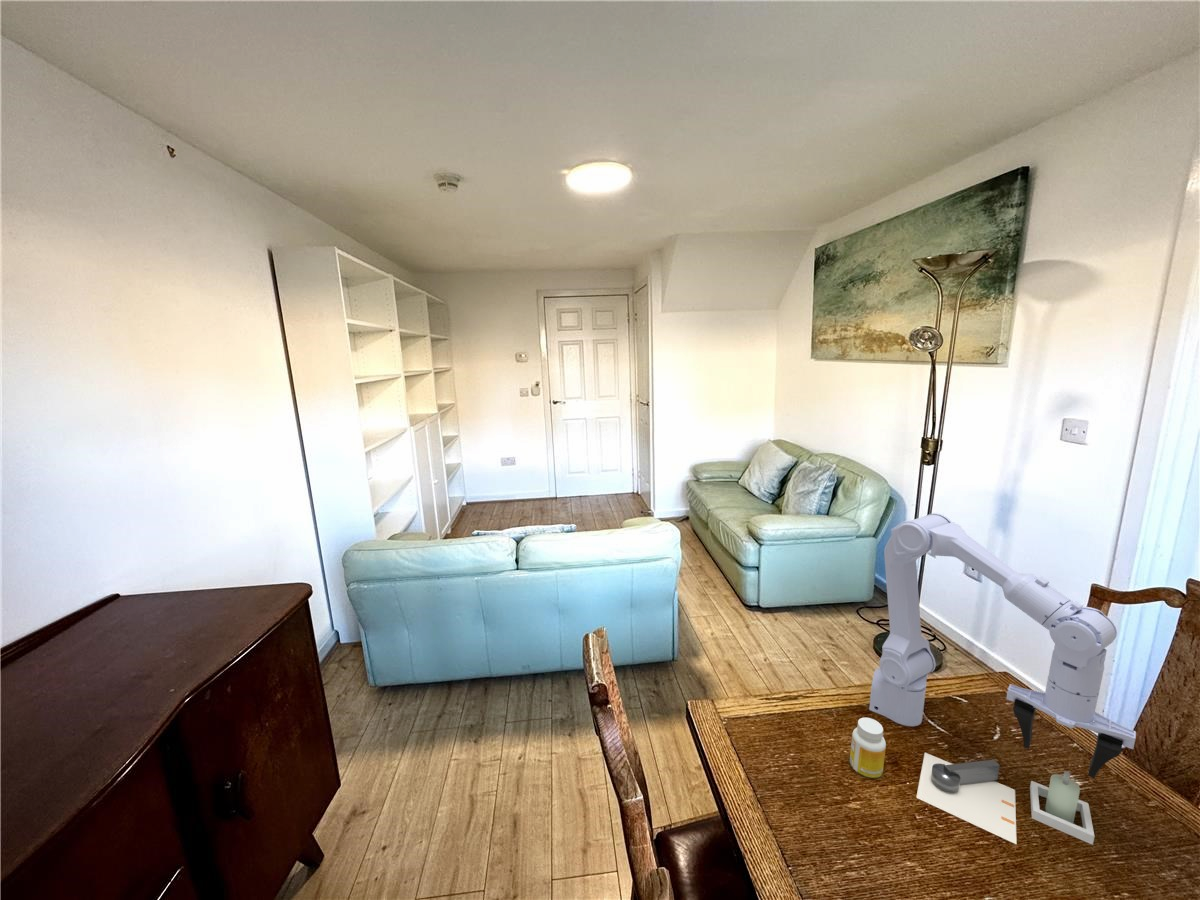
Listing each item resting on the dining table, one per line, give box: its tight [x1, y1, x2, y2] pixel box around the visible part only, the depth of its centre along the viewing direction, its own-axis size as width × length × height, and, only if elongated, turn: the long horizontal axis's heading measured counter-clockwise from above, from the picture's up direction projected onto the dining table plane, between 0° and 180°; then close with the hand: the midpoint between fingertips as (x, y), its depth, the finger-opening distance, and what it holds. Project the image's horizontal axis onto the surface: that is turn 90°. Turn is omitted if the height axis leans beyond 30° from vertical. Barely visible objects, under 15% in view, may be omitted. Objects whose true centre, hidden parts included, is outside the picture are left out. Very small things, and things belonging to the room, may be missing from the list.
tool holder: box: [1029, 780, 1096, 846], centre depth 79 cm, size 7×7×2 cm
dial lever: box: [931, 759, 1001, 793], centre depth 85 cm, size 12×4×3 cm, turn 96°
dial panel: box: [915, 752, 1017, 845], centre depth 83 cm, size 13×12×1 cm
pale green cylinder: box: [1044, 770, 1081, 824], centre depth 78 cm, size 3×3×9 cm
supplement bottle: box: [849, 717, 887, 779], centre depth 88 cm, size 5×5×10 cm
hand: (1058, 758), depth 78 cm, fingers open, 7 cm apart
